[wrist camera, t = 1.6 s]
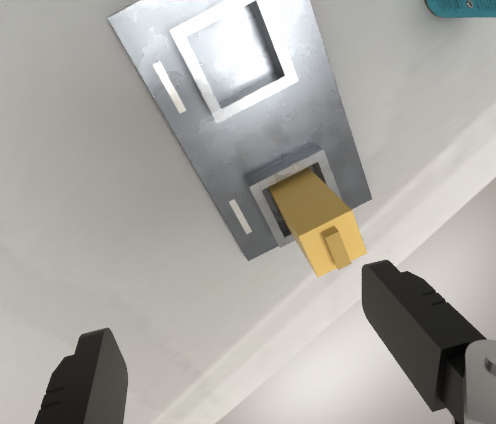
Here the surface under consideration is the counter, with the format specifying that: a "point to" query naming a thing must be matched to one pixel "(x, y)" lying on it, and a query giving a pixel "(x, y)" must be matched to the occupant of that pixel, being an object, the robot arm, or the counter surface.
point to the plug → (318, 221)
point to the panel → (246, 103)
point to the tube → (463, 8)
